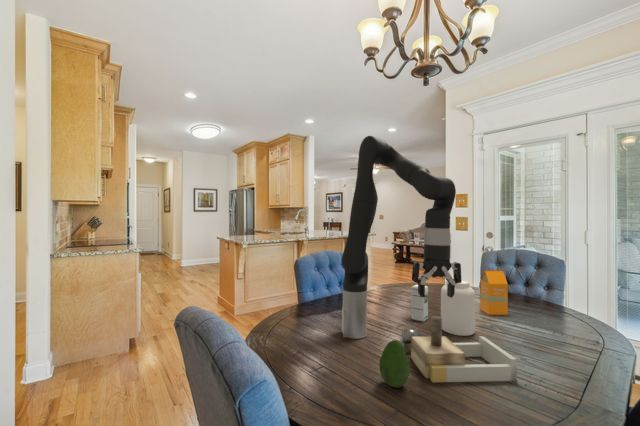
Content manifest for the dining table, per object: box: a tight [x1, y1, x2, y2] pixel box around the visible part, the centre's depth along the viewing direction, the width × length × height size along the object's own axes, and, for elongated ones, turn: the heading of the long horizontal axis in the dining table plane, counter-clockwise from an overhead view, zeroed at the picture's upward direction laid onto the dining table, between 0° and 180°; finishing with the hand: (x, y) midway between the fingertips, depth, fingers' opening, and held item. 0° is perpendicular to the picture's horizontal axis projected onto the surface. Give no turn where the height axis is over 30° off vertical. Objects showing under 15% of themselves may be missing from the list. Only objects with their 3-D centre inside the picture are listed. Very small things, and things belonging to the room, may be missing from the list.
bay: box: [430, 335, 518, 383], centre depth 93 cm, size 24×16×6 cm, turn 93°
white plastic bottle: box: [440, 279, 476, 337], centre depth 122 cm, size 12×12×20 cm
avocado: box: [378, 339, 411, 389], centre depth 82 cm, size 8×8×12 cm
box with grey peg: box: [410, 315, 466, 380], centre depth 92 cm, size 11×12×15 cm
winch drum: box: [399, 328, 421, 354], centre depth 104 cm, size 6×4×7 cm, turn 93°
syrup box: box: [410, 284, 429, 322], centre depth 136 cm, size 6×6×14 cm
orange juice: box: [480, 269, 509, 316], centre depth 146 cm, size 8×9×20 cm
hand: (436, 296), depth 92 cm, fingers open, 8 cm apart
